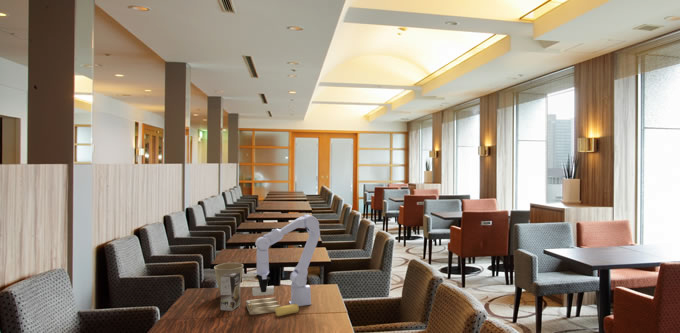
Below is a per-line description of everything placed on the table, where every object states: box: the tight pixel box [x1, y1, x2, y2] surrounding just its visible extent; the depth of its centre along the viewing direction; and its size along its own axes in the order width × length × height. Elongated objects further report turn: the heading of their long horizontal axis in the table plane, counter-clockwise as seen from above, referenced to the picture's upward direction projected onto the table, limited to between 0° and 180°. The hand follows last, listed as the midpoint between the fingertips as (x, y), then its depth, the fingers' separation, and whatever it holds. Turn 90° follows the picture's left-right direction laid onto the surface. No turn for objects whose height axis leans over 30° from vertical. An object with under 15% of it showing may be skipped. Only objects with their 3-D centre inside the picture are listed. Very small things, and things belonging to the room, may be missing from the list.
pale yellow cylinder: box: [274, 304, 300, 317], centre depth 208 cm, size 10×4×4 cm, turn 124°
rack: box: [245, 297, 282, 315], centre depth 216 cm, size 14×14×3 cm
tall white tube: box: [251, 285, 275, 297], centre depth 216 cm, size 10×4×4 cm, turn 106°
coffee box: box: [220, 272, 241, 312], centre depth 217 cm, size 9×6×16 cm
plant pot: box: [213, 262, 244, 294], centre depth 236 cm, size 15×15×16 cm
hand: (263, 290), depth 216 cm, fingers closed on tall white tube, 4 cm apart
